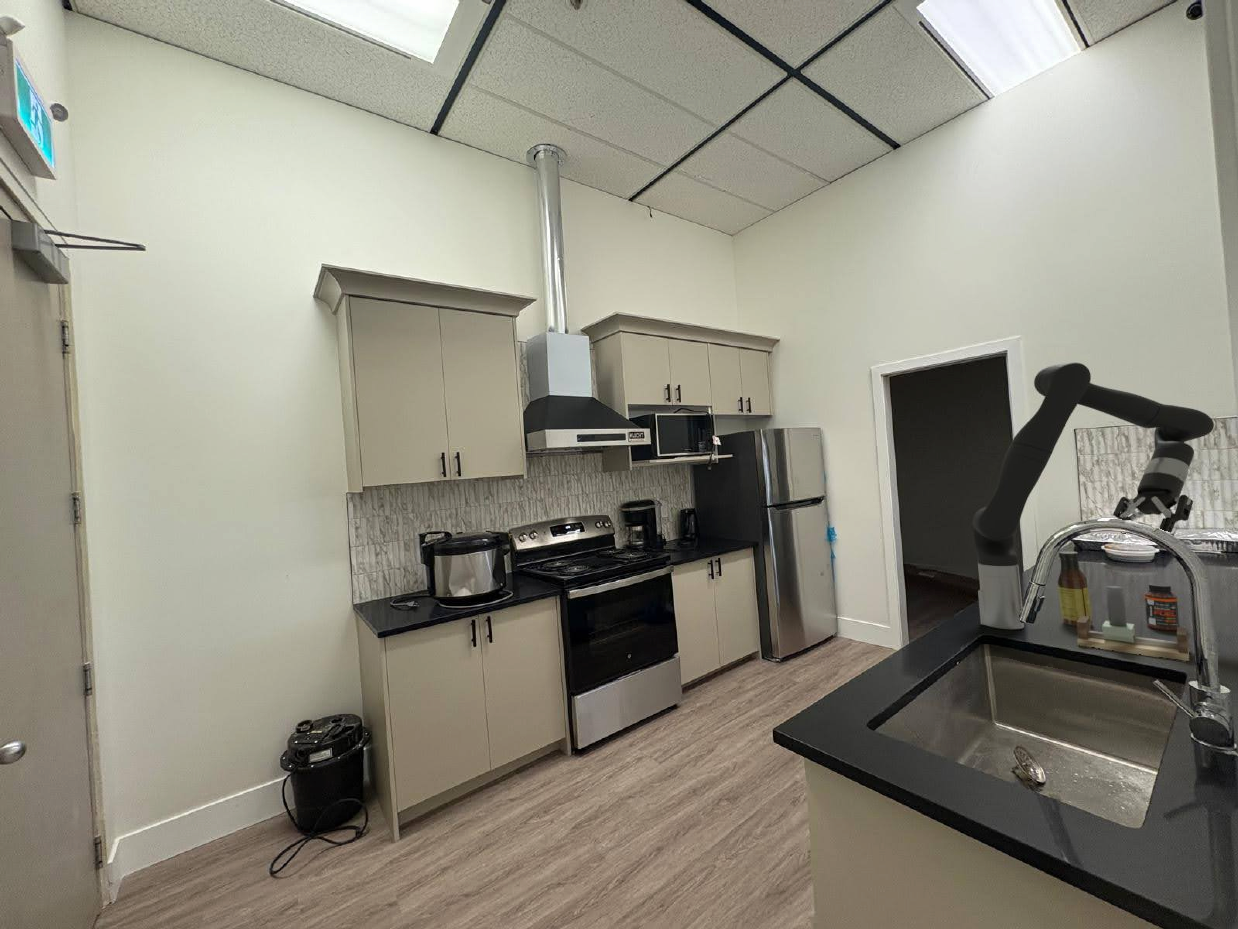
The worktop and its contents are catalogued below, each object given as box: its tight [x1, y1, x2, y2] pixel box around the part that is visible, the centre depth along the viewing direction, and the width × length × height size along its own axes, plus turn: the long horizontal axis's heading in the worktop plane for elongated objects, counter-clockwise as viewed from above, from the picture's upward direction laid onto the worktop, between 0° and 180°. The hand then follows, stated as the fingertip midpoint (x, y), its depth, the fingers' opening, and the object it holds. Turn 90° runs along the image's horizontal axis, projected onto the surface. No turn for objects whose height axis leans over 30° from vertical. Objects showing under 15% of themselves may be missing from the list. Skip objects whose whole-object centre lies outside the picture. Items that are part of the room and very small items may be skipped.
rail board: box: [1076, 616, 1191, 662], centre depth 120 cm, size 18×9×6 cm, turn 41°
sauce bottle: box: [1057, 550, 1093, 627], centre depth 141 cm, size 7×6×20 cm
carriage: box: [1101, 585, 1136, 643], centre depth 122 cm, size 5×6×12 cm
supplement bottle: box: [1144, 582, 1181, 631], centre depth 134 cm, size 6×6×11 cm
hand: (1142, 533), depth 127 cm, fingers open, 8 cm apart
